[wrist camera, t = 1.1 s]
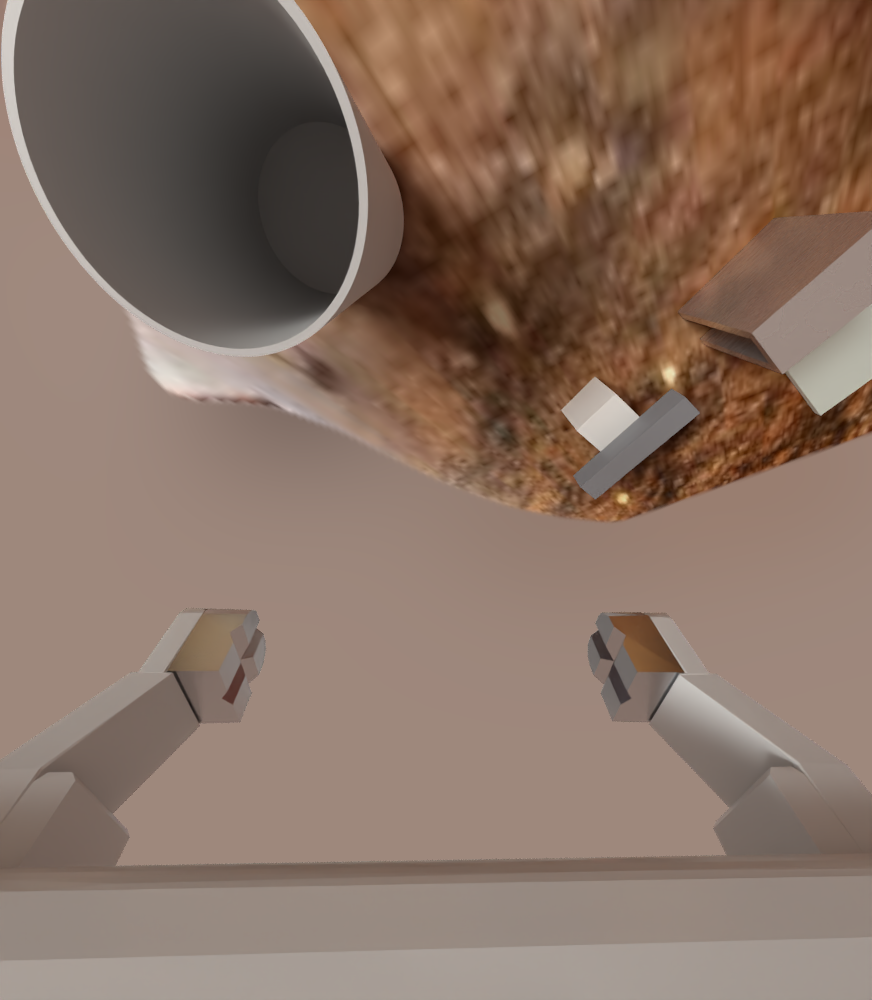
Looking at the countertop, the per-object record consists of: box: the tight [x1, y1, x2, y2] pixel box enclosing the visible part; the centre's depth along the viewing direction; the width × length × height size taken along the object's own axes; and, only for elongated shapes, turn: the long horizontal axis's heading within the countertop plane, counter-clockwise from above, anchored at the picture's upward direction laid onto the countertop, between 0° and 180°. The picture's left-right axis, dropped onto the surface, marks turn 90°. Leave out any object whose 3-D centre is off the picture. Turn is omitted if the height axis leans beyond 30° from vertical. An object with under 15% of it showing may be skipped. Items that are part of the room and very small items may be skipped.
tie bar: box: [573, 389, 700, 499], centre depth 39 cm, size 12×2×2 cm, turn 141°
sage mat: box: [785, 304, 872, 416], centre depth 42 cm, size 10×12×1 cm
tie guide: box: [678, 211, 872, 374], centre depth 34 cm, size 10×5×11 cm, turn 141°
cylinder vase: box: [1, 0, 404, 357], centre depth 25 cm, size 12×12×25 cm
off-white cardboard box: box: [561, 377, 639, 451], centre depth 44 cm, size 5×8×6 cm, turn 52°
